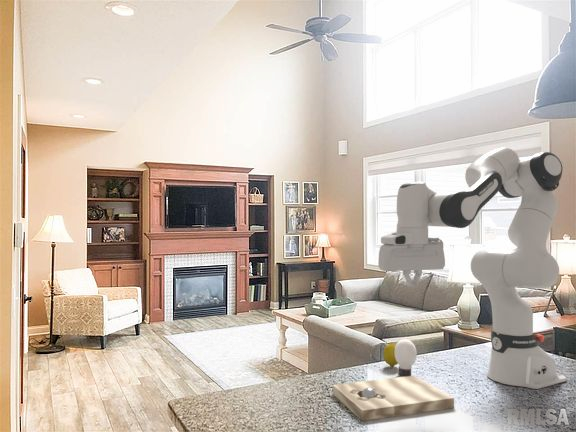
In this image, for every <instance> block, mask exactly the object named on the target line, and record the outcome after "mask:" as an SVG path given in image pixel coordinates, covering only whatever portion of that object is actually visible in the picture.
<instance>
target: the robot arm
mask: <svg viewBox="0 0 576 432" xmlns="http://www.w3.org/2000/svg"><path fill="white" fill-rule="evenodd" d="M464 174H465V176H464V177H465V182H466V184H467V186H468V187H469V188H468V189H467V190H464V191H456V192H446V193H437V192H436V191H433V190H432V189H430V188H429V187H428V185H427V184H426V182H425V181H413V182H412V181H411V182H406V183H403V184H401V185H400V186H399V188H398V191H397V196H396V215H397V216H396V217H397V223H396V231H394V232H391V233H388V234H386V235H383V236H382V237H380V242H381V244H382V245H381V246H380V248H379V252H378V268H379V269H380V271H384V272H399V271H400V272H401V271H402V275H403V278H405V280H406V281H405V283H406V286H407V287H418V286H419V280H420V279H421V276H422V275H423V271H429V270H430V271H431V270H432V271H433V270H443V269H444V268H445V267H446V258H445V256H446V255H445V251H444V242H443V240H442V239H440V238H439V237H429V227H443V228H444V227H446V228H448V227H450V228H457V229H465V228H467V227H469V226H470V225H471V224H472V223H473V221H474V220H475V219H476V217H477V215H478V213H479V212H480V210H481V209H483V208H484V206H485V205H487V203H489V202H490V201H491V200H492V198H494V197H495V196H496V195H497V194H498V193H499V194H500V195H502V196H503V197H504V198H507V199H517V198H520V197H521V201H520V205H519V206H518V208H517V210H516V212H515V214H514V216H513V219H512V221H511V223H510V225H509V227H508V229H507V235H508V239H509V240H510V242H511V243H512V244H513V245H514V246H515V247H516V248H515V249H500V248H497V249H496V248H490V249H489V248H488V249H483V250H478V251H477V252H475V254H474V255H473V256H472V258H471V261H470V269H471V273H472V275H473V277H474V278H475V279H476V280H477V281H478V282H479V283H480V284H481V285H482V286H483V288H484V289H485V291H486V294H487V295H488V298H489V300H490V305H491V315H492V329H491V330H490V343H491V352H490V358H489V359H490V360H489V365H488V370H487V373H486V376H487V377H488V378H489V379H490V380H492V381H494V382H497V383H500V384H504V385H508V386H516V387H525V388H529V389H532V390H533V389H534V390H539V389H543V388H547V387H549V386H550V387H551V386H553V385H557V384H560V383H563V382H566V381H567V379H566V376H564V375H563V374H562V373H559V372H557V371H558V370H557V365H556V364H557V363H556V360H555V359H554V357H552V356H551V355H550V354H549V353H548V352H546V351H545V350H544V349H543V348H541V347H540V346H539V344H538V341H539V342H541V343H543V342H544V341H545V336H544V335H543V334H540V333H536V334H535V333H534V310H533V308H532V306H531V305H530V302H529V303H528V301H526V299H524V298H522V297H521V296H520V295H519V294H518V292H517V290H516V289H517V288H523V289H524V288H525V289H531V290H532V289H533V290H534V289H535V290H537V289H547V288H551V287H552V286H554V285H555V283H556V282H557V281H558V278H559V276H560V266H559V263H558V262H557V260H556V258H555V257H554V256H553V255H551V254H550V253H549V252H548V250H547V240H548V237H549V234H550V232H551V230H552V227H553V224H554V222H555V219H556V215H557V211H558V199H557V197H556V195H555V194H554V193H552V192H553V191H555V190H557V188H558V187H559V186H560V180H561V179H562V175H563V165H562V161H561V160H560V158H559V157H558V156H557V155H555V154H554V153H552V152H549V151H544V152H539V153H535V154H534V155H532V156H529V157H528V156H527V157H526V158H523V159H520V157H519V156H518V154H517V153H516V151H514V150H513V149H511V148H508V147H500V148H496V149H493V150H491V151H489V152H487V153H485V154H483V155H481V156H480V157H479V158H476V160H474V161H473V162H472V163H471V164H469V166H468V167H467V168H466V169H465V173H464ZM412 271H413V273H414V276H413V278H411V276H410V275H411V273H412Z"/></svg>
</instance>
